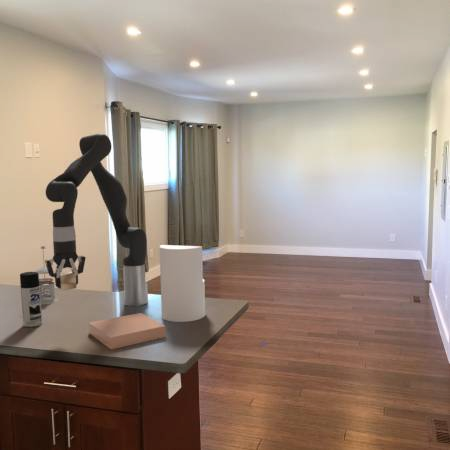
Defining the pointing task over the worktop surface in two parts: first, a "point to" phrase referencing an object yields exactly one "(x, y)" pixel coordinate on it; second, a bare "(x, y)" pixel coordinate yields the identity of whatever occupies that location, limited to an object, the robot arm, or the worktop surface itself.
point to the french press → (46, 286)
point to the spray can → (30, 299)
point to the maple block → (68, 281)
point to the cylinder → (182, 283)
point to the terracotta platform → (126, 330)
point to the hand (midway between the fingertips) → (67, 286)
